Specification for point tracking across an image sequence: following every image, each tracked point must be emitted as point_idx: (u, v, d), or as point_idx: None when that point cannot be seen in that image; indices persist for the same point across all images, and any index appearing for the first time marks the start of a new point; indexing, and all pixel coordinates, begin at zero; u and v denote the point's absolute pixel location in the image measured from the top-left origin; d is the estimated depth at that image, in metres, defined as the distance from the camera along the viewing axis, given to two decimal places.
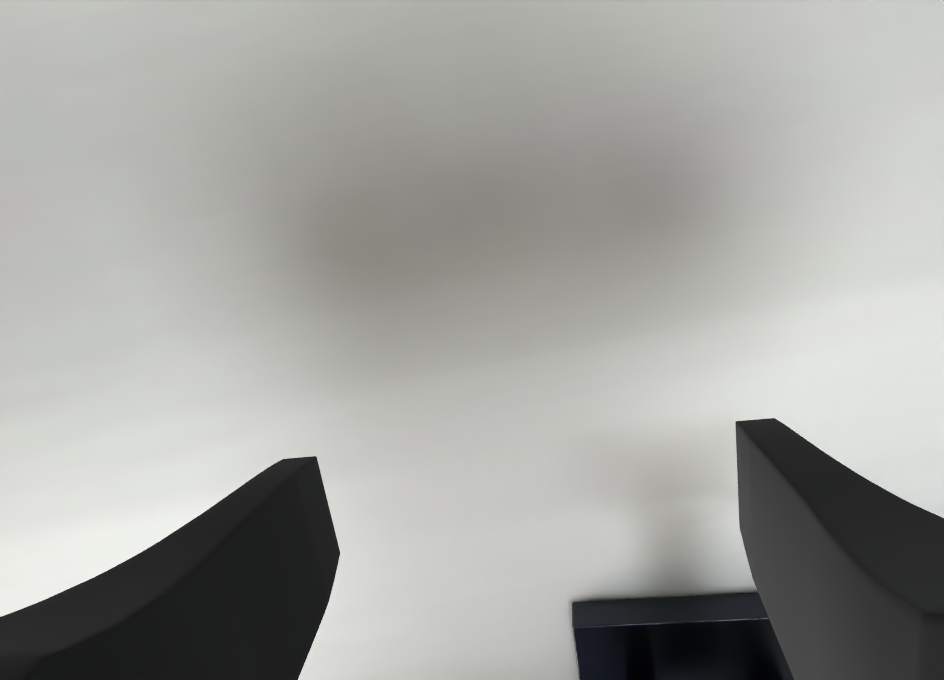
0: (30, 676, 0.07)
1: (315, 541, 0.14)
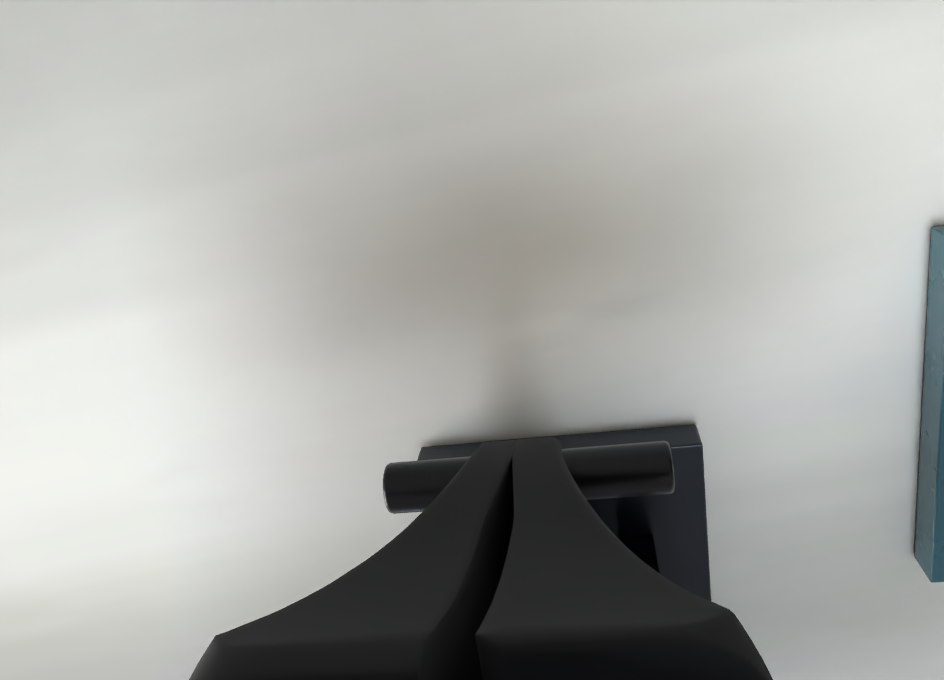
0: (422, 659, 0.07)
1: None
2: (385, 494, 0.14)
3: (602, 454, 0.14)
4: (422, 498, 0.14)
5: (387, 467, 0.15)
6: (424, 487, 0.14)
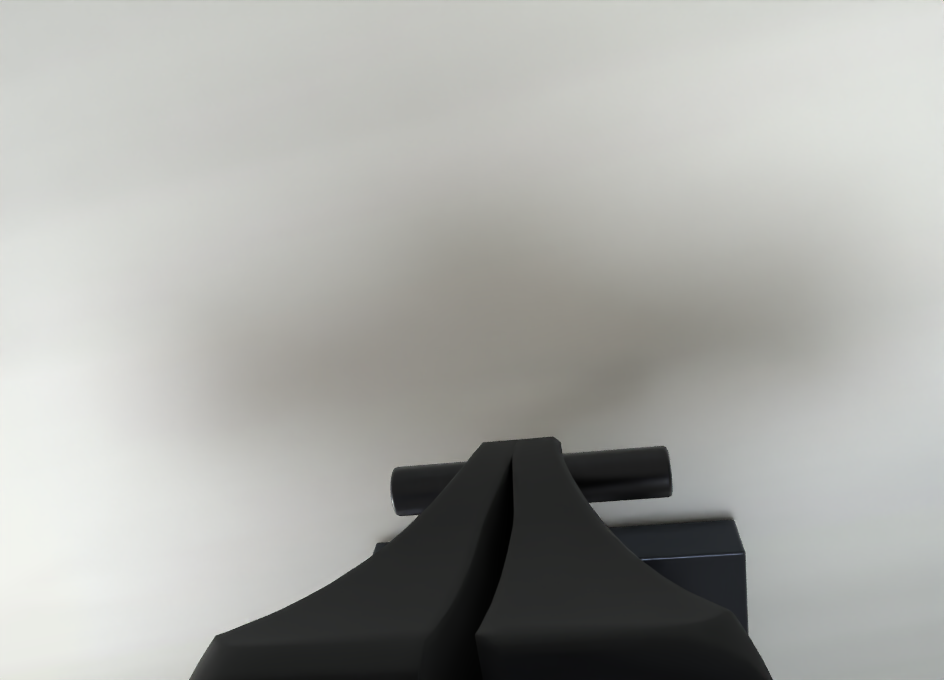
0: (422, 659, 0.07)
1: None
2: (392, 481, 0.15)
3: None
4: (427, 484, 0.15)
5: (398, 467, 0.15)
6: (430, 474, 0.15)
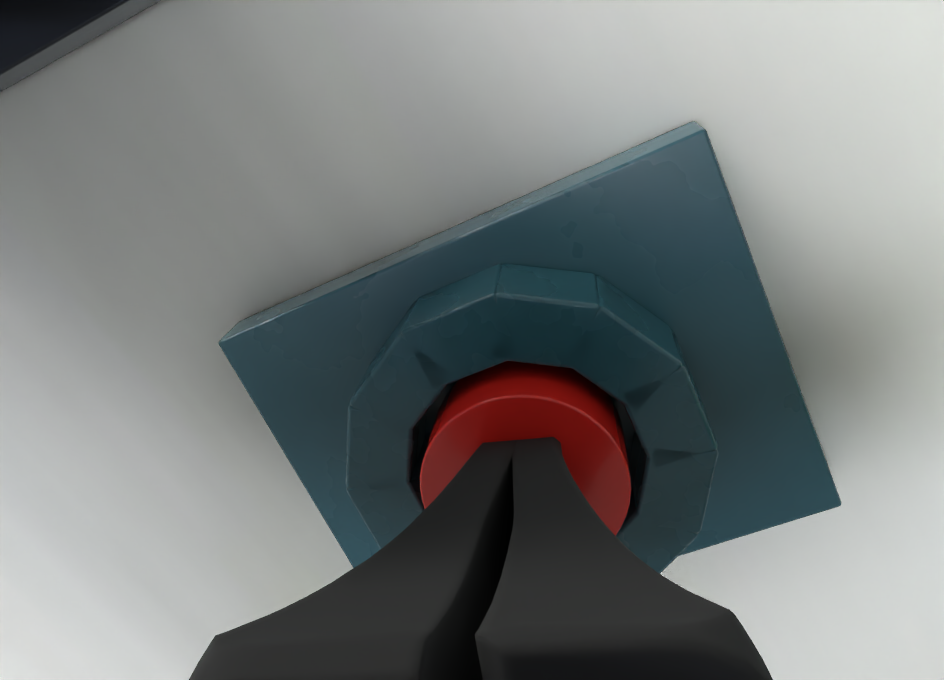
0: (422, 659, 0.07)
1: None
2: None
3: None
4: None
5: None
6: None
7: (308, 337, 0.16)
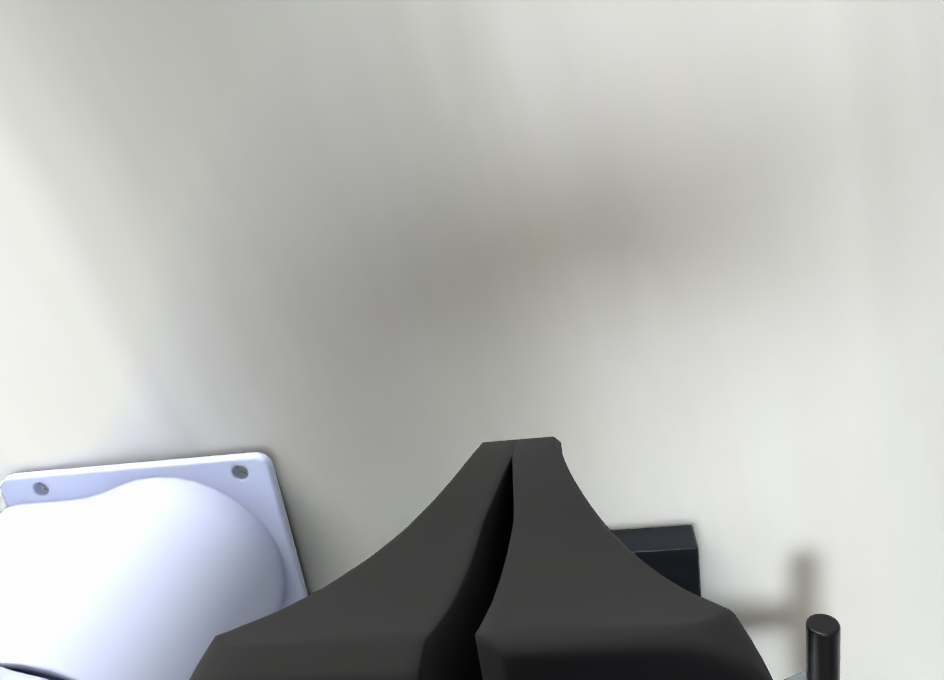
0: (422, 659, 0.07)
1: None
2: (838, 630, 0.23)
3: None
4: (837, 651, 0.23)
5: (833, 618, 0.23)
6: (839, 648, 0.23)
7: None
